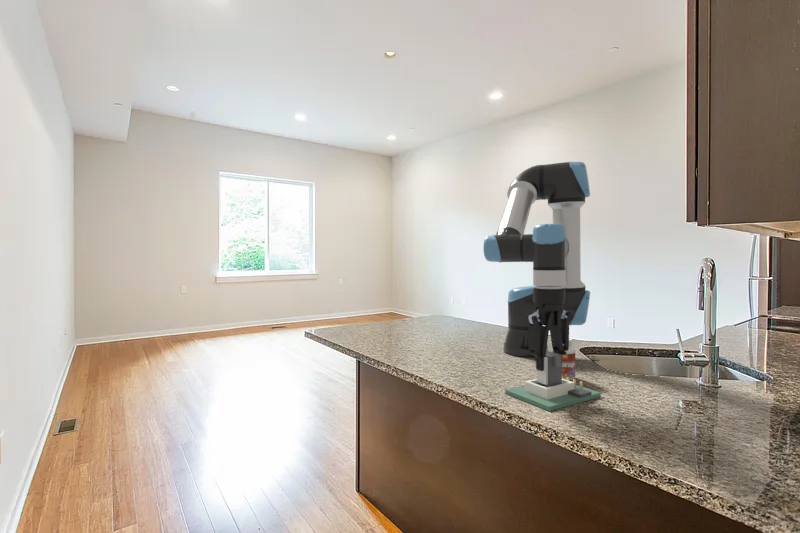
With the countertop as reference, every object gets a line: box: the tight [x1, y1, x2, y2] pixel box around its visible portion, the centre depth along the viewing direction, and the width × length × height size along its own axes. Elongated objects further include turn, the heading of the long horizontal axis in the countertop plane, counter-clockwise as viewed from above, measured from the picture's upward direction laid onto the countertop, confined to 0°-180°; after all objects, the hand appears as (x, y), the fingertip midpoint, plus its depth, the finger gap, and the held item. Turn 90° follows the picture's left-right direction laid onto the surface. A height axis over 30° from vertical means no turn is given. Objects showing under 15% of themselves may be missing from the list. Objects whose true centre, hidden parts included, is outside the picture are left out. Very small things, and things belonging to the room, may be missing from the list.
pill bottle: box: [551, 337, 576, 381], centre depth 121 cm, size 6×6×11 cm
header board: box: [504, 376, 602, 412], centre depth 106 cm, size 18×14×4 cm
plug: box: [537, 350, 562, 388], centre depth 105 cm, size 4×5×8 cm
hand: (549, 381), depth 106 cm, fingers closed on plug, 4 cm apart
